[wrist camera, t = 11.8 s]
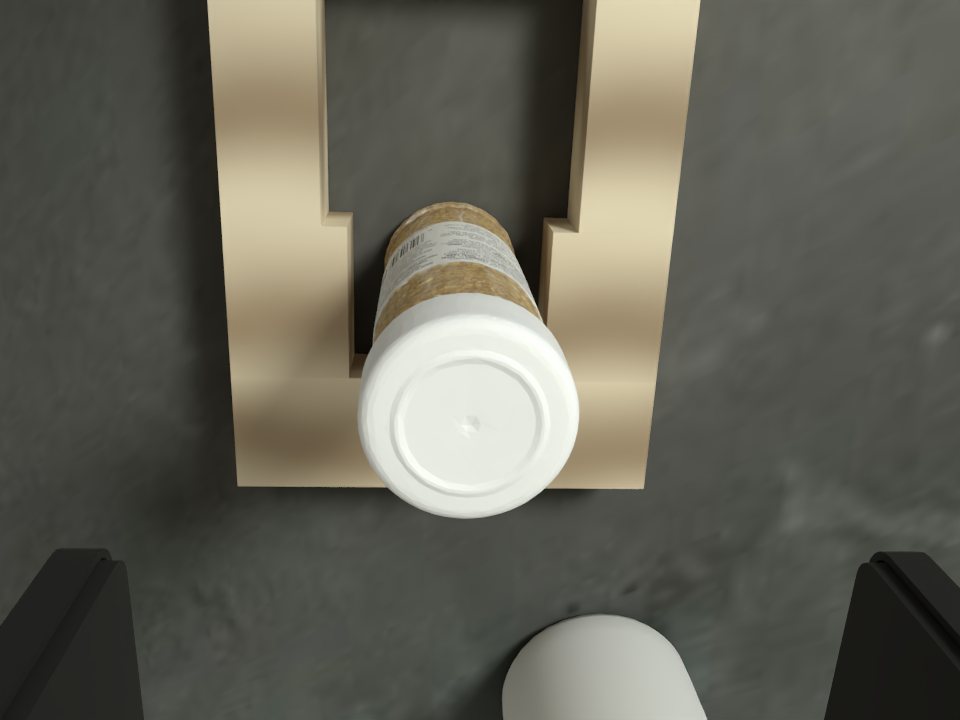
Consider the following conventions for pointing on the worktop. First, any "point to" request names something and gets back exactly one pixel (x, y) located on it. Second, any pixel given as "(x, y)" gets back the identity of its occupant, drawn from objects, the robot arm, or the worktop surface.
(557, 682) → the milk bottle
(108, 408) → the worktop surface
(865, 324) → the worktop surface
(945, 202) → the worktop surface
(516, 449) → the spice jar
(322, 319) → the keyhole board
